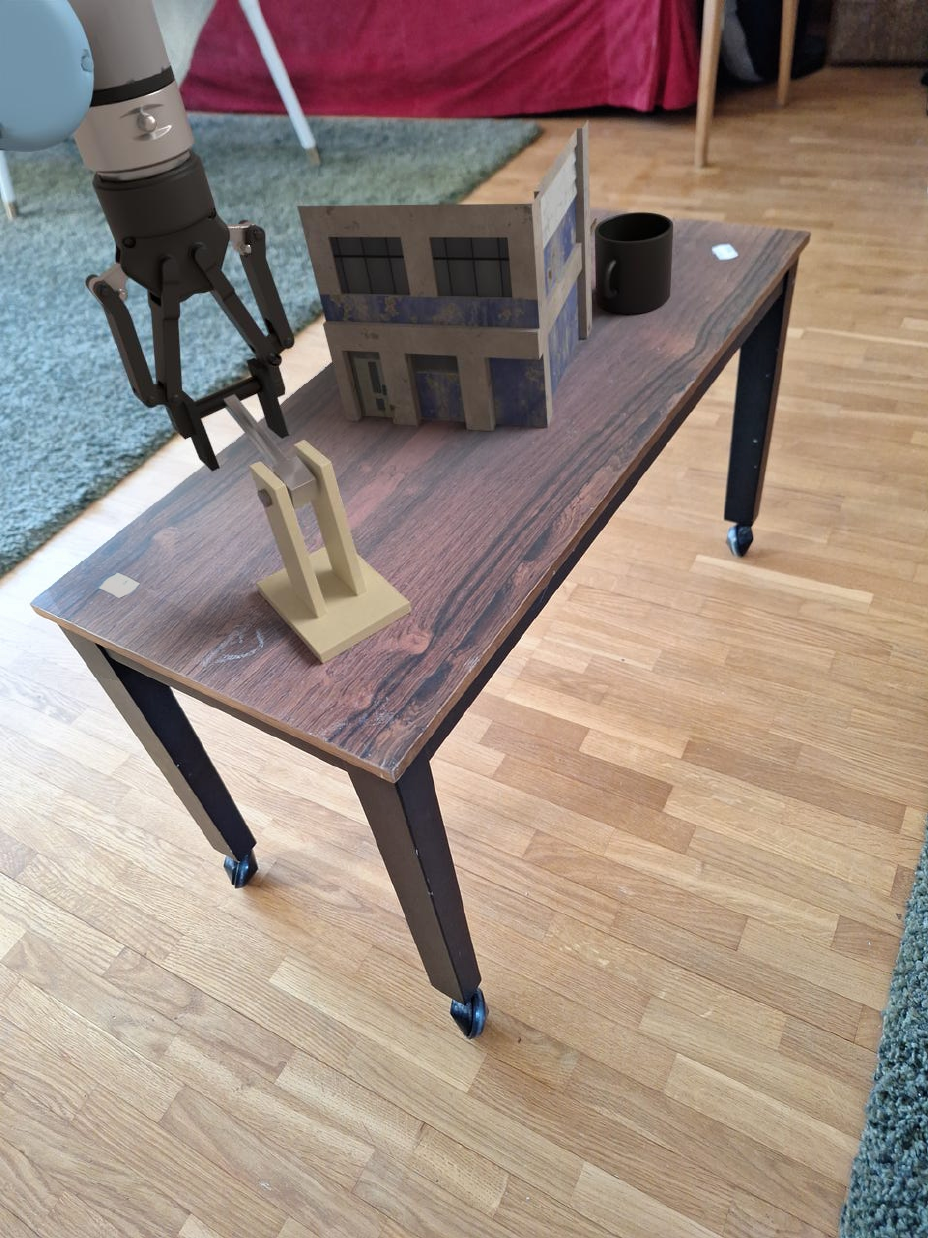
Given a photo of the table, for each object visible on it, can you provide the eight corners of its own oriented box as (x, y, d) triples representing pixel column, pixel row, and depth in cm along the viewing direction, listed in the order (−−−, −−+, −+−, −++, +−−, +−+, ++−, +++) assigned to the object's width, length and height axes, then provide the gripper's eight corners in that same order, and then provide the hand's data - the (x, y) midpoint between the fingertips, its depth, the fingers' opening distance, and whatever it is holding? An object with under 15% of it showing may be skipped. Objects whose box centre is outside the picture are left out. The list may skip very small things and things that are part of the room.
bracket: (259, 592, 78) (205, 457, 68) (342, 547, 82) (303, 411, 71) (322, 664, 71) (273, 524, 61) (412, 611, 74) (379, 470, 64)
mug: (571, 316, 109) (569, 244, 103) (618, 277, 115) (618, 207, 109) (638, 329, 105) (639, 255, 98) (683, 288, 111) (687, 216, 104)
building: (346, 420, 98) (293, 208, 82) (418, 321, 113) (386, 127, 97) (544, 434, 91) (529, 206, 75) (592, 327, 106) (588, 119, 90)
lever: (192, 416, 72) (186, 395, 70) (256, 388, 74) (252, 367, 72) (273, 520, 67) (269, 501, 65) (338, 487, 69) (336, 467, 67)
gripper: (21, 218, 53) (159, 514, 69) (290, 130, 60) (358, 419, 76) (-9, 192, 58) (127, 475, 74) (243, 114, 64) (317, 389, 80)
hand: (244, 446), depth 75 cm, fingers closed on lever, 6 cm apart
